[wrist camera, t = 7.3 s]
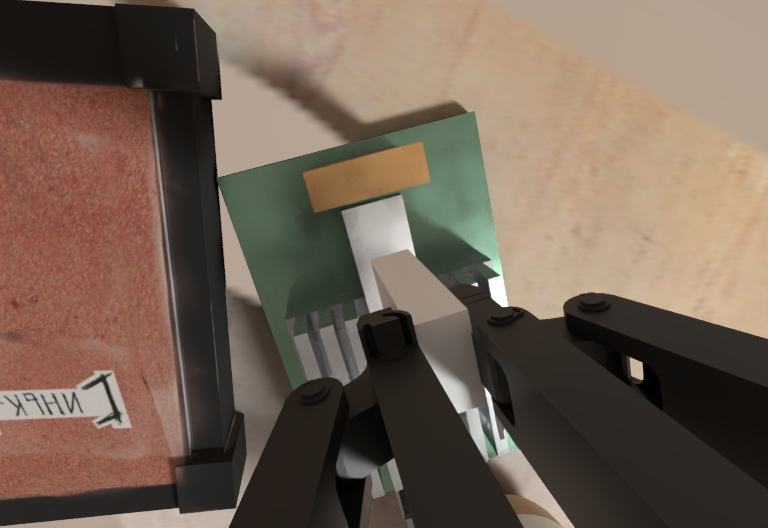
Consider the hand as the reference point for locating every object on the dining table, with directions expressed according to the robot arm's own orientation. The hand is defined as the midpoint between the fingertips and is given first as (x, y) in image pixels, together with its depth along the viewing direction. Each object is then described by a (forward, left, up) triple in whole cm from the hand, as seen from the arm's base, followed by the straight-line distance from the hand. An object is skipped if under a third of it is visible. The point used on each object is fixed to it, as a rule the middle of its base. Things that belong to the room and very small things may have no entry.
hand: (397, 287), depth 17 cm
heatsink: (0, -7, -11) cm, 13 cm away
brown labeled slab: (-17, +2, -11) cm, 20 cm away
